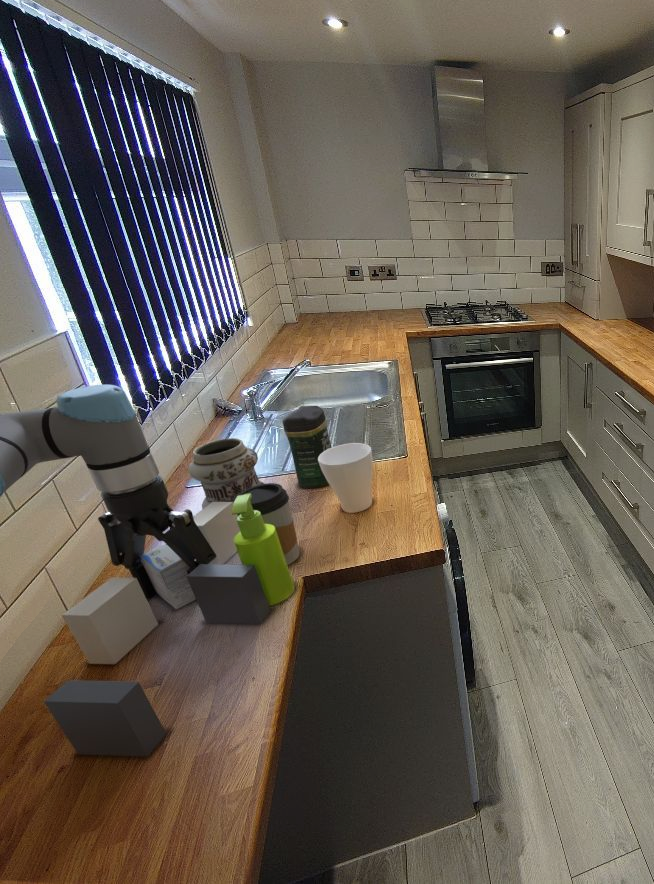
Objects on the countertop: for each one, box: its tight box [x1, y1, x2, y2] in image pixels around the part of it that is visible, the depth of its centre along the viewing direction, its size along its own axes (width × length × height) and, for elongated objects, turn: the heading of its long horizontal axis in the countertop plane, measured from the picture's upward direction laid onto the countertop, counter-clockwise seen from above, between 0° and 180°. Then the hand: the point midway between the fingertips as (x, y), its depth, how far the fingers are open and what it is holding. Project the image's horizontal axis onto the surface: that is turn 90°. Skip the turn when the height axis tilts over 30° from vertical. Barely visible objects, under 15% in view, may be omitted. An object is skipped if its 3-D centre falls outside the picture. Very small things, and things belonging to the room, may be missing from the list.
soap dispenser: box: [232, 493, 295, 606], centre depth 87 cm, size 6×7×20 cm
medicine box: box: [140, 543, 197, 610], centre depth 90 cm, size 8×4×9 cm, turn 57°
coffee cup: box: [238, 482, 301, 566], centre depth 97 cm, size 8×8×15 cm
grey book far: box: [186, 564, 272, 625], centre depth 84 cm, size 9×3×10 cm, turn 88°
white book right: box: [193, 502, 240, 565], centre depth 99 cm, size 4×8×10 cm, turn 178°
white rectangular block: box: [61, 577, 159, 665], centre depth 79 cm, size 4×8×10 cm, turn 178°
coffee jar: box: [282, 405, 333, 489], centre depth 125 cm, size 10×8×19 cm
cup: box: [318, 442, 374, 514], centre depth 114 cm, size 10×10×14 cm
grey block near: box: [43, 679, 167, 757], centre depth 64 cm, size 9×3×10 cm, turn 88°
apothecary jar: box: [187, 437, 266, 516], centre depth 109 cm, size 12×12×18 cm
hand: (180, 595), depth 91 cm, fingers closed on medicine box, 9 cm apart
